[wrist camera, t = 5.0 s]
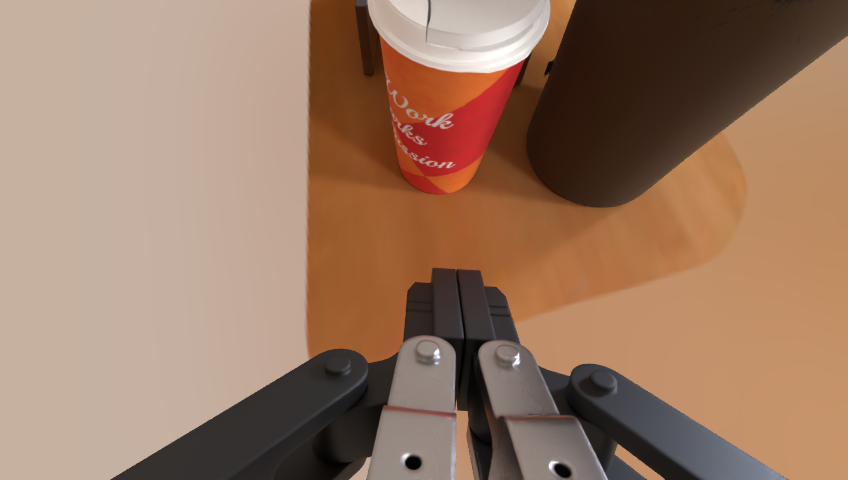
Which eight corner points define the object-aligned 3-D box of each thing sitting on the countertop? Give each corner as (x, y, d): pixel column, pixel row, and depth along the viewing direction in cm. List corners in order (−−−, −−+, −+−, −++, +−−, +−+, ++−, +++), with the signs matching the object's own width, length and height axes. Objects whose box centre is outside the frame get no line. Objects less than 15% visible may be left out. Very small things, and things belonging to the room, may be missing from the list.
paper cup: (366, 134, 30) (335, -70, 17) (463, 100, 31) (503, -112, 18) (410, 227, 28) (414, 74, 15) (512, 186, 29) (600, 12, 16)
